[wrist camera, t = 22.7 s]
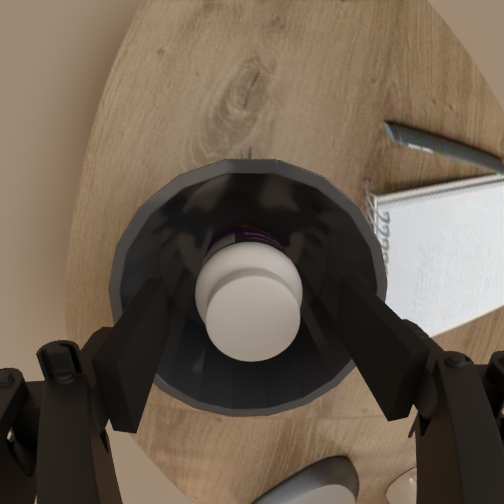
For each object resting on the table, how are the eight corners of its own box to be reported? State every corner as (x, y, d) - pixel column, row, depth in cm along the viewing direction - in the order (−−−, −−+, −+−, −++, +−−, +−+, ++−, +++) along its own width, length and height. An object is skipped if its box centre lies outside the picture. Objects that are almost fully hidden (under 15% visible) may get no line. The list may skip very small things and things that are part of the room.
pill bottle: (298, 258, 23) (342, 317, 13) (245, 310, 23) (254, 394, 14) (243, 204, 21) (251, 231, 12) (189, 261, 22) (161, 324, 13)
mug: (434, 481, 34) (457, 519, 25) (384, 504, 34) (401, 546, 25) (445, 441, 31) (476, 485, 22) (386, 468, 31) (410, 520, 22)
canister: (149, 167, 21) (98, 165, 12) (336, 167, 22) (397, 167, 13) (161, 338, 24) (134, 412, 16) (325, 335, 25) (363, 405, 16)
